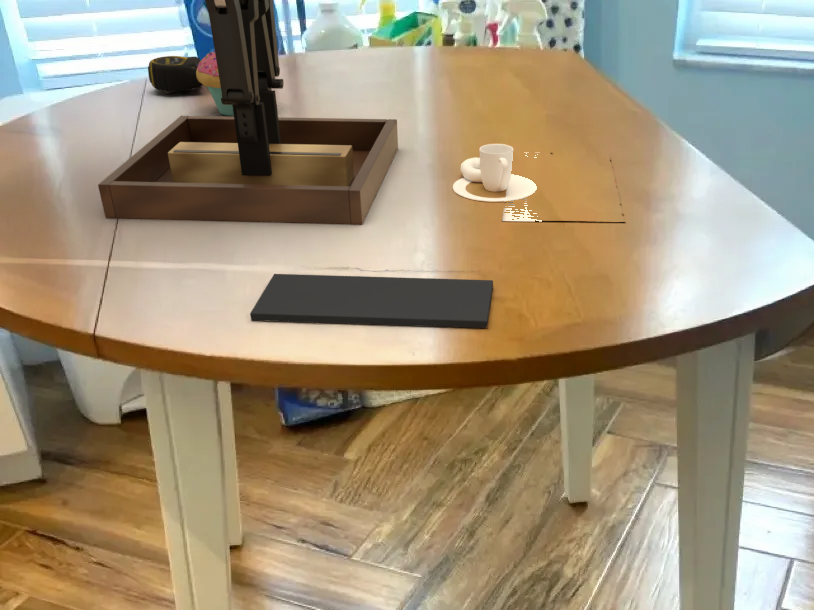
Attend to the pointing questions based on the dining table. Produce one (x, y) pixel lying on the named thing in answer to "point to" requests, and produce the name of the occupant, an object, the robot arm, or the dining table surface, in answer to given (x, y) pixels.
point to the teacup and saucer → (496, 179)
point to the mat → (375, 301)
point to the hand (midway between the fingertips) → (262, 166)
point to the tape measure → (174, 73)
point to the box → (164, 200)
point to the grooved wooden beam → (286, 163)
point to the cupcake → (212, 81)
